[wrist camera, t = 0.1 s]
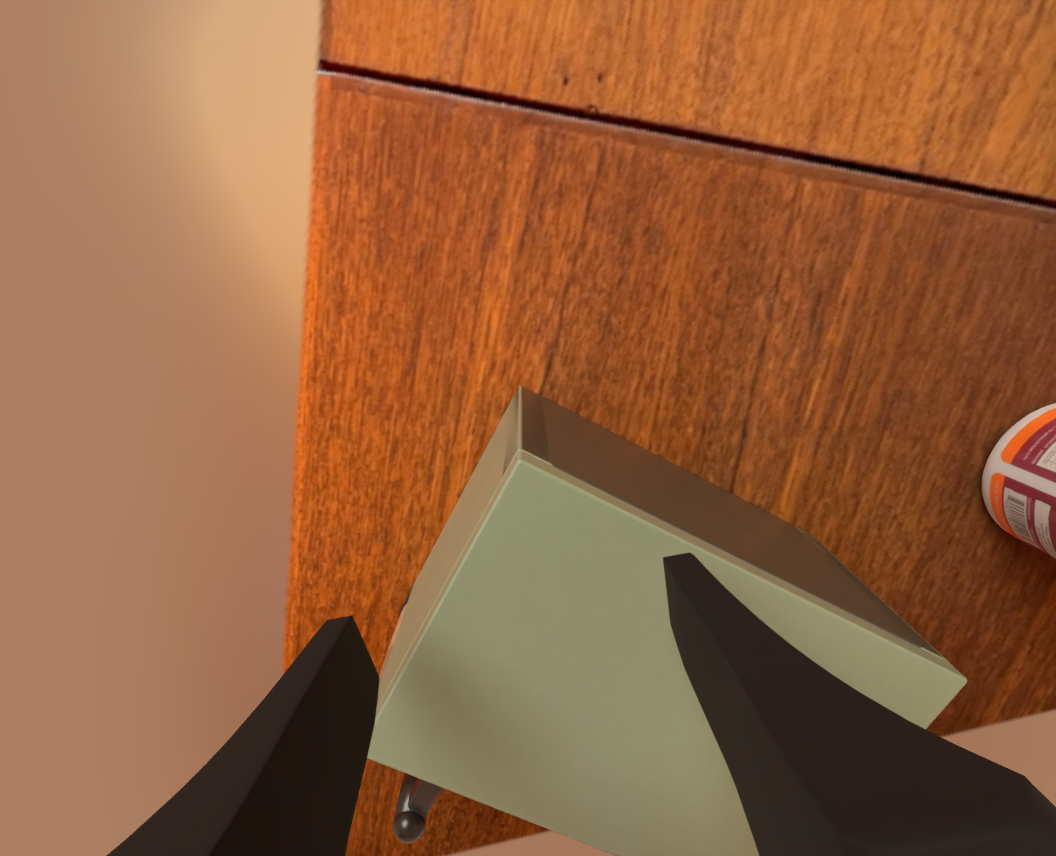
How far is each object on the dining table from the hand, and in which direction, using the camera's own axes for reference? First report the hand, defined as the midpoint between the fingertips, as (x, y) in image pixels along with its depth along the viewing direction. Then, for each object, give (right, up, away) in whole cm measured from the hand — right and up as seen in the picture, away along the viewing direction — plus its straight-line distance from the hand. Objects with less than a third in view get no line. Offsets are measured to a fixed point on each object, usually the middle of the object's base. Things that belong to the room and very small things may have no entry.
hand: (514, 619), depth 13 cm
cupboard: (+4, -1, +11) cm, 12 cm away
